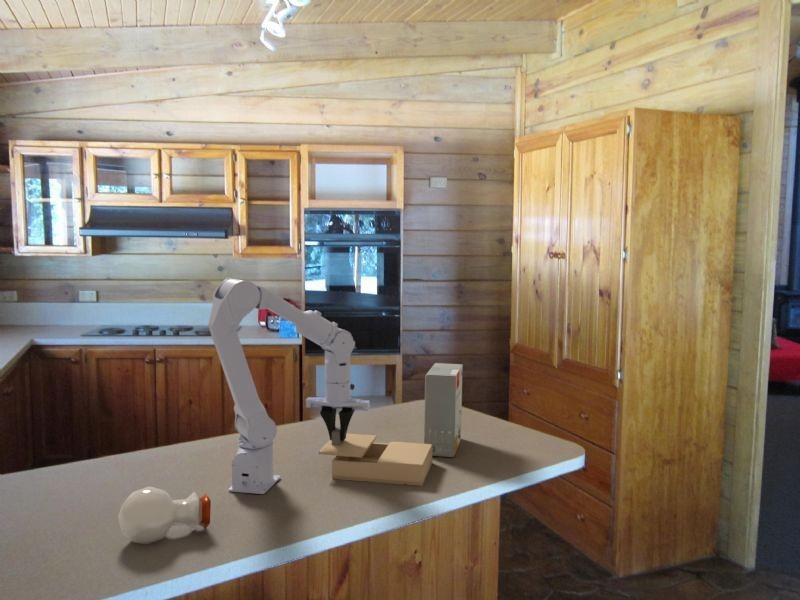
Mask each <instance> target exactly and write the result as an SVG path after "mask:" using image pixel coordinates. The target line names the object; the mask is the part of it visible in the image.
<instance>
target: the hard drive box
mask: <svg viewBox="0 0 800 600" xmlns="http://www.w3.org/2000/svg"><path fill="white" fill-rule="evenodd" d="M463 368H464V365H463V363H462V364H460V363H441V362H435V363H434V364H433V365H432V366H431V367H430V368H429V370H428V372H426V373H425V376H424V380H425V381H424V414H423V415H424V417H423V418H424V419H423V420H424V421H423V444H432V457H445V458H455V455H456V453H457V449H458V448H459V445H460V443H461V439H462V415H463V413H462V411H463V410H462V409H463V407H462V404H463V403H462V402H463V370H464V369H463Z"/></svg>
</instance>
